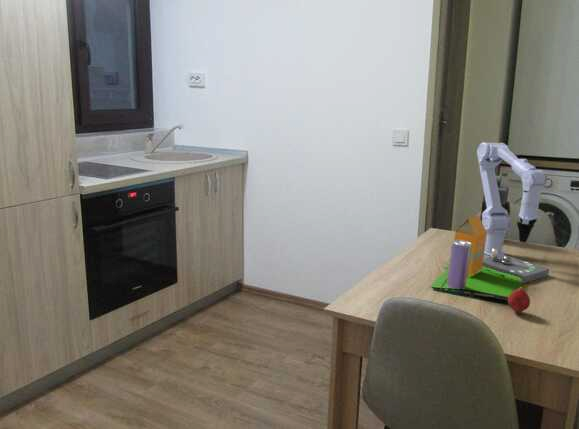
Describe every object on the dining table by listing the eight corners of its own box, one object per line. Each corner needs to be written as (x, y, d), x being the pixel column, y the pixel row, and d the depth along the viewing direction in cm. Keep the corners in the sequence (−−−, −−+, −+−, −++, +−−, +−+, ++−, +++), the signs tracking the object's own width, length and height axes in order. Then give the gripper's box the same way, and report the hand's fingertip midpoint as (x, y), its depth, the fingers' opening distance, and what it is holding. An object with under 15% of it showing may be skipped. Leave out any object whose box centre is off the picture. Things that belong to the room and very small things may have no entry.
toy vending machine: (504, 244, 223) (514, 179, 217) (476, 239, 228) (486, 175, 222) (506, 239, 231) (516, 176, 225) (479, 235, 236) (488, 173, 229)
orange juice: (481, 272, 187) (489, 217, 182) (470, 277, 180) (479, 220, 176) (460, 266, 192) (468, 212, 187) (449, 271, 185) (457, 216, 181)
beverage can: (455, 291, 167) (462, 246, 163) (442, 284, 172) (448, 240, 168) (469, 289, 169) (476, 244, 166) (456, 282, 175) (462, 239, 171)
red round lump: (502, 308, 155) (506, 282, 153) (521, 308, 156) (525, 283, 154) (512, 316, 150) (516, 290, 148) (531, 317, 150) (536, 291, 148)
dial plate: (474, 266, 192) (475, 259, 192) (500, 260, 202) (501, 253, 201) (522, 283, 177) (524, 276, 177) (548, 275, 187) (549, 268, 186)
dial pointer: (489, 260, 191) (491, 249, 190) (492, 258, 194) (494, 247, 193) (529, 269, 183) (531, 258, 182) (532, 266, 187) (534, 255, 186)
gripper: (540, 208, 182) (534, 246, 185) (543, 201, 194) (537, 237, 197) (518, 205, 185) (512, 242, 188) (523, 198, 197) (517, 233, 200)
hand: (523, 239), depth 193 cm, fingers open, 7 cm apart
